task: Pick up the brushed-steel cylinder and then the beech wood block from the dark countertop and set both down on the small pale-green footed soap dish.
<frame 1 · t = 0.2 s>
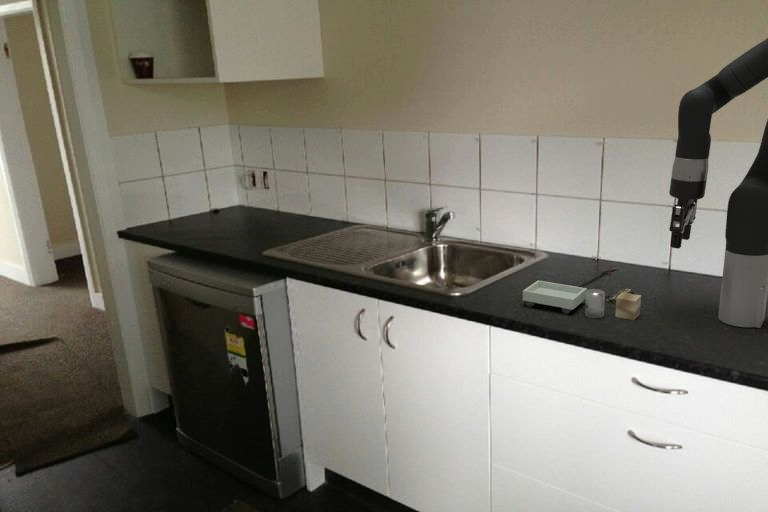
hand: (680, 243, 154), 17 cm above the worktop, tool pointing down, fingers open, 8 cm apart
fantasy weapon: (612, 287, 179), on the worktop
steel cylinder: (594, 314, 159), on the worktop
footed soap dish: (554, 304, 167), on the worktop
beech block: (627, 315, 158), on the worktop
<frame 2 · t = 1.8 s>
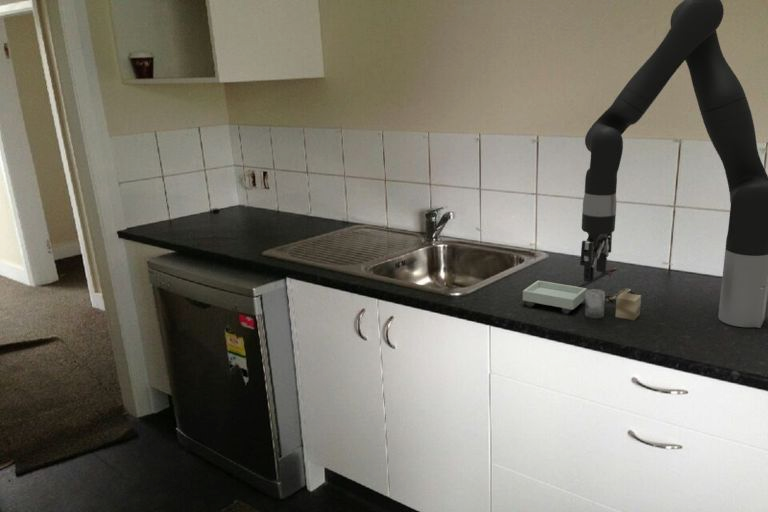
hand: (594, 276, 157), 10 cm above the worktop, tool pointing down, fingers open, 8 cm apart
nothing on the worktop moved.
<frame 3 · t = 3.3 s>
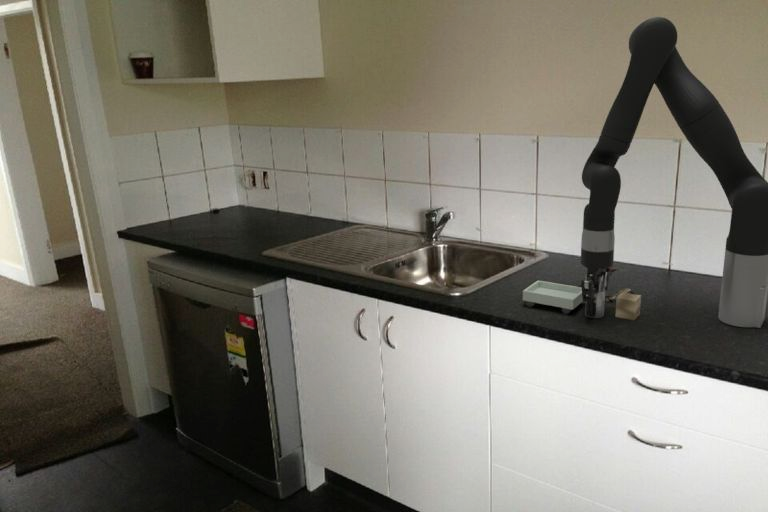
hand: (594, 312, 159), 1 cm above the worktop, tool pointing down, fingers closed on steel cylinder, 4 cm apart
steel cylinder: (594, 314, 159), on the worktop, touching gripper
everything else where it was.
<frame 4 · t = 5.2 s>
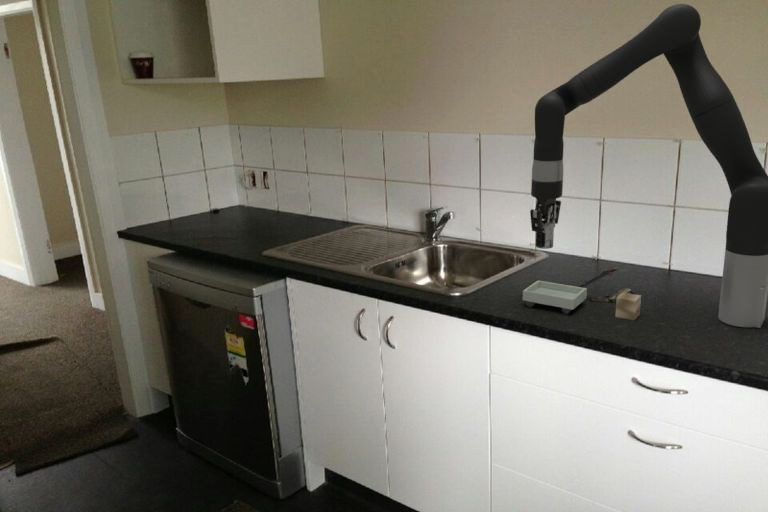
hand: (544, 243, 164), 16 cm above the worktop, tool pointing down, fingers closed on steel cylinder, 4 cm apart
steel cylinder: (544, 246, 164), point 16 cm above the worktop, touching gripper
everything else where it was.
when the fingers open (5 cm above the worktop, at t = 7.6 s): steel cylinder drops 2 cm, resting on footed soap dish.
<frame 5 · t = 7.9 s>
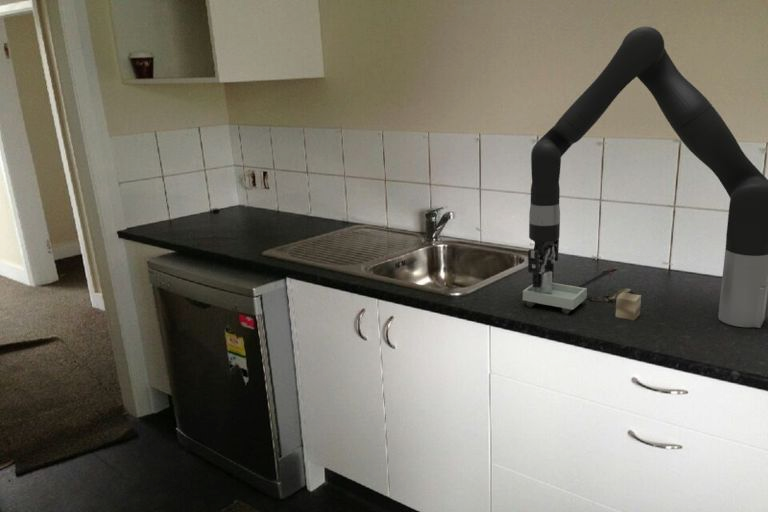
hand: (543, 282, 167), 6 cm above the worktop, tool pointing down, fingers open, 7 cm apart
steel cylinder: (542, 293, 168), point 3 cm above the worktop, touching footed soap dish
everything else where it was.
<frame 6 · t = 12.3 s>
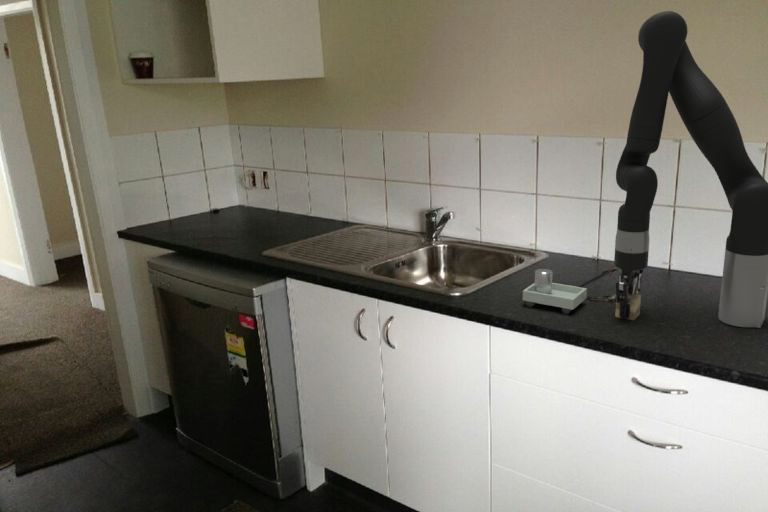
hand: (627, 313, 158), 0 cm above the worktop, tool pointing down, fingers closed on beech block, 4 cm apart
beech block: (627, 315, 158), on the worktop, touching gripper
everything else where it was.
when the fingers open (5 cm above the worktop, at t = 16.7 s): beech block drops 2 cm, resting on footed soap dish.
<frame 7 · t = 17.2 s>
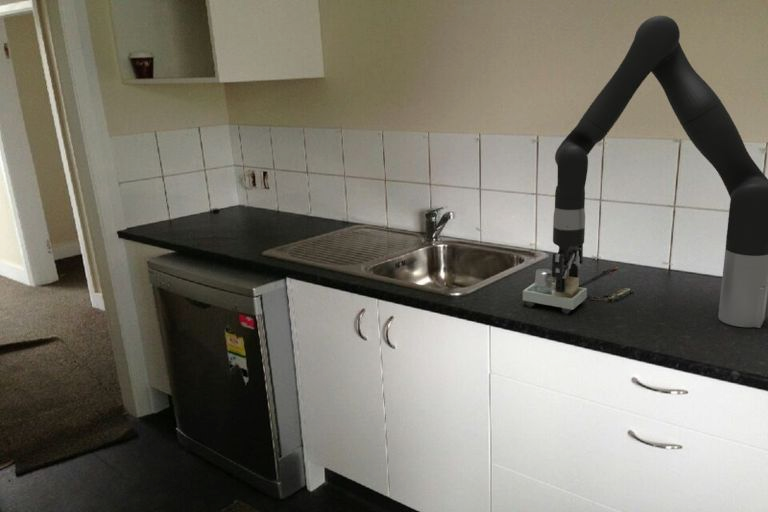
hand: (566, 286, 163), 5 cm above the worktop, tool pointing down, fingers open, 8 cm apart
beech block: (566, 297, 164), point 3 cm above the worktop, touching footed soap dish
everything else where it was.
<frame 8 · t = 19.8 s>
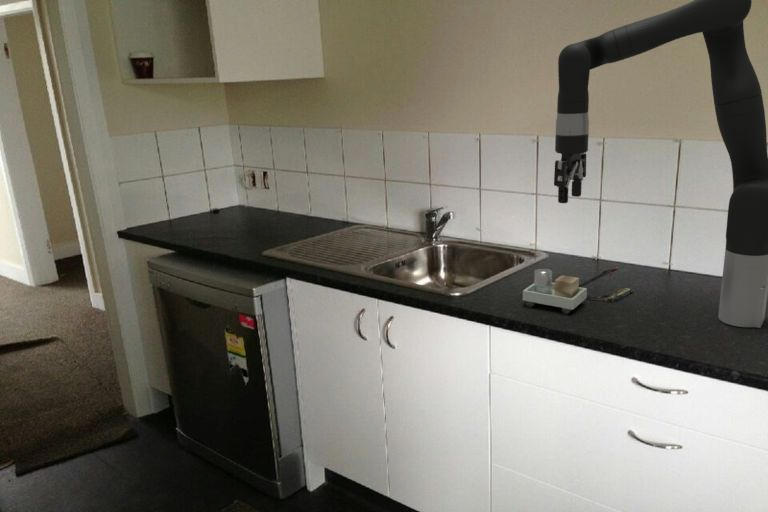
hand: (569, 199, 157), 28 cm above the worktop, tool pointing down, fingers open, 8 cm apart
nothing on the worktop moved.
at the end: steel cylinder inside the target area on the footed soap dish (3.1 cm from its centre), point 2.7 cm above the footed soap dish's base; beech block inside the target area on the footed soap dish (3.2 cm from its centre), point 2.6 cm above the footed soap dish's base; steel cylinder tilted 4° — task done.
